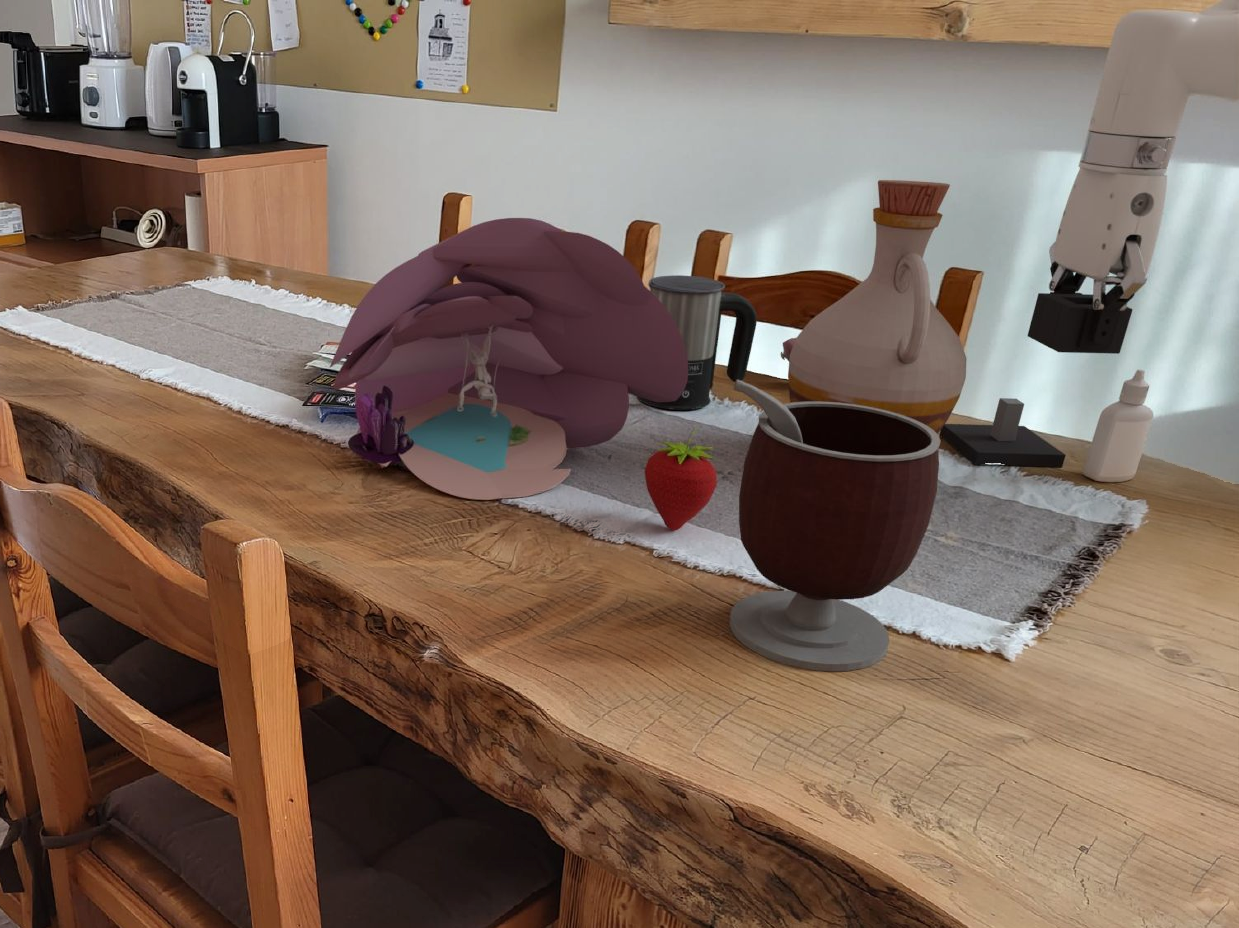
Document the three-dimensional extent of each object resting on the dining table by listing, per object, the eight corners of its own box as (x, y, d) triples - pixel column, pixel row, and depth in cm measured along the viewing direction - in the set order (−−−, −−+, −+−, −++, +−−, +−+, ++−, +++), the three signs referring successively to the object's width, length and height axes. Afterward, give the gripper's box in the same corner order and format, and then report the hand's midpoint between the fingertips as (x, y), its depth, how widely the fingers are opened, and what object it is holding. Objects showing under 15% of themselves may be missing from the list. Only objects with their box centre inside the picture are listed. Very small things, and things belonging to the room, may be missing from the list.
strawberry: (670, 510, 115) (683, 412, 111) (723, 537, 110) (739, 436, 105) (623, 520, 112) (635, 421, 108) (676, 549, 107) (690, 446, 102)
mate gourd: (883, 603, 98) (936, 371, 89) (913, 686, 86) (978, 428, 77) (697, 583, 101) (730, 355, 92) (700, 662, 88) (739, 408, 79)
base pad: (1021, 437, 140) (1034, 389, 137) (1062, 467, 131) (1077, 416, 128) (939, 435, 139) (950, 386, 137) (975, 465, 130) (988, 413, 128)
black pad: (1085, 337, 123) (1098, 294, 121) (1119, 354, 117) (1133, 309, 115) (1026, 336, 122) (1038, 293, 120) (1058, 352, 117) (1070, 307, 115)
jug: (971, 506, 119) (1051, 199, 106) (796, 498, 119) (853, 191, 106) (910, 442, 137) (972, 172, 123) (758, 435, 137) (802, 164, 123)
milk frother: (661, 415, 142) (676, 292, 136) (594, 379, 155) (605, 265, 148) (755, 404, 148) (774, 285, 141) (683, 370, 161) (698, 260, 154)
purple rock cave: (388, 566, 113) (393, 293, 95) (289, 447, 128) (277, 192, 110) (674, 478, 127) (726, 226, 109) (554, 380, 142) (582, 145, 124)
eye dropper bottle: (1141, 487, 126) (1176, 378, 121) (1085, 481, 127) (1118, 373, 122) (1129, 473, 130) (1162, 367, 124) (1075, 467, 131) (1106, 362, 125)
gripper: (1221, 167, 104) (1158, 364, 112) (1113, 145, 119) (1065, 320, 128) (1139, 164, 104) (1083, 362, 112) (1042, 143, 119) (998, 318, 127)
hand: (1074, 338), depth 120 cm, fingers closed on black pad, 6 cm apart
